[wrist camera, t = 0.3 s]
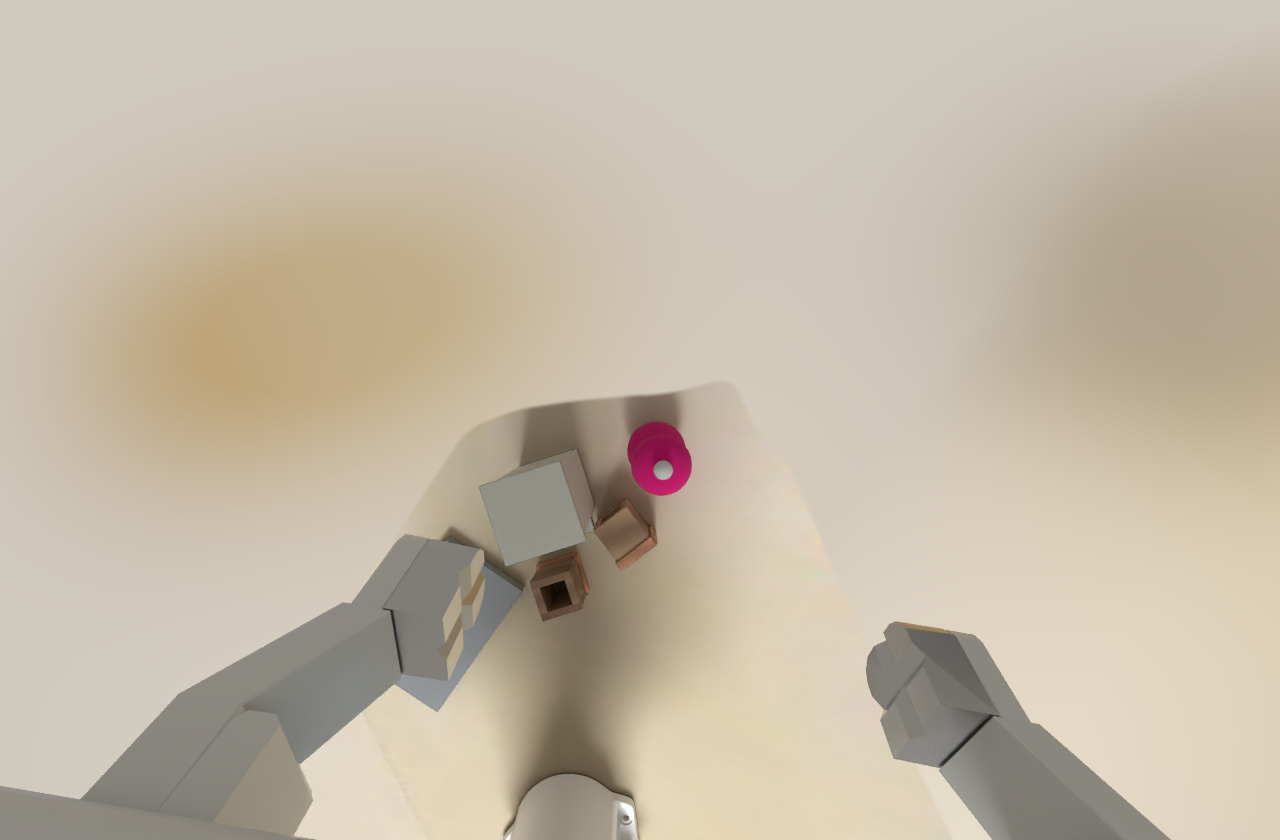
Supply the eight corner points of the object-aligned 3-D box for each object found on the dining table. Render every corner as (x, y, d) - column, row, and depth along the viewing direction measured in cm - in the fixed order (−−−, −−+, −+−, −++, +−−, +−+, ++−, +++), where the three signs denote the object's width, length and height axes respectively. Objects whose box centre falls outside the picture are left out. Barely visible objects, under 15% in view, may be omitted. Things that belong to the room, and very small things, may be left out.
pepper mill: (616, 445, 62) (607, 469, 42) (656, 408, 62) (666, 415, 42) (653, 485, 63) (661, 527, 43) (693, 448, 62) (720, 473, 42)
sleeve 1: (590, 590, 63) (585, 610, 57) (550, 602, 63) (541, 624, 57) (577, 551, 63) (570, 567, 57) (537, 563, 63) (527, 581, 57)
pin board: (524, 586, 63) (514, 605, 58) (442, 704, 64) (423, 733, 58) (450, 536, 63) (432, 550, 57) (368, 656, 63) (342, 680, 58)
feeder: (604, 525, 63) (593, 566, 48) (542, 545, 63) (513, 591, 48) (578, 445, 62) (559, 461, 47) (516, 465, 62) (478, 486, 47)
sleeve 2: (655, 531, 63) (657, 544, 58) (622, 556, 63) (621, 571, 58) (628, 496, 63) (627, 506, 57) (595, 521, 63) (591, 533, 57)
